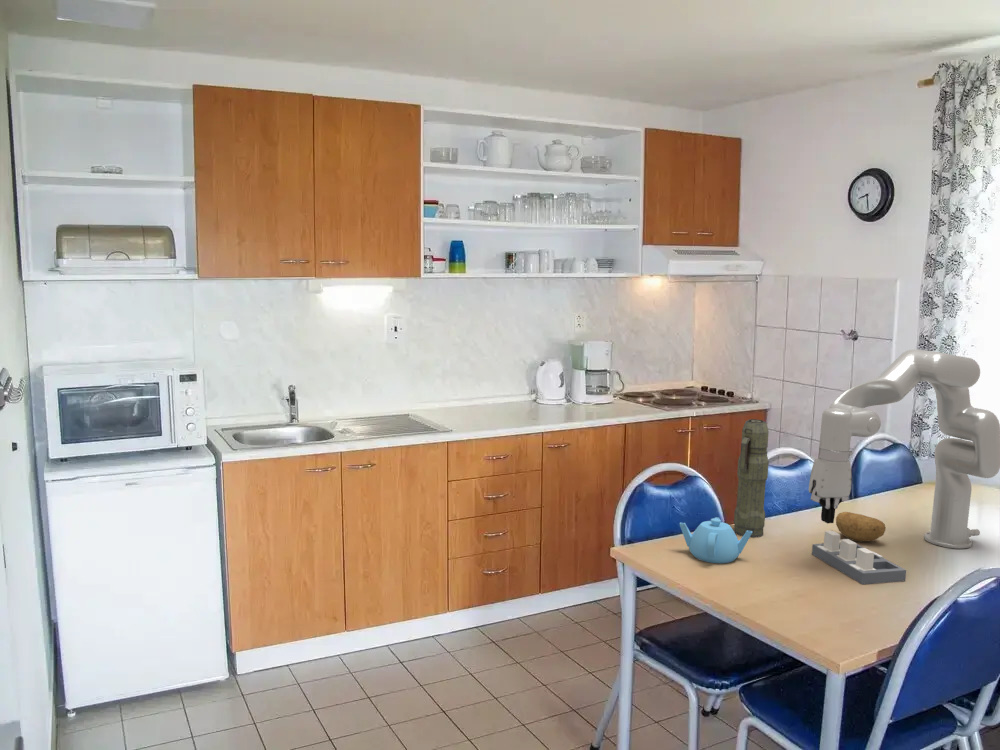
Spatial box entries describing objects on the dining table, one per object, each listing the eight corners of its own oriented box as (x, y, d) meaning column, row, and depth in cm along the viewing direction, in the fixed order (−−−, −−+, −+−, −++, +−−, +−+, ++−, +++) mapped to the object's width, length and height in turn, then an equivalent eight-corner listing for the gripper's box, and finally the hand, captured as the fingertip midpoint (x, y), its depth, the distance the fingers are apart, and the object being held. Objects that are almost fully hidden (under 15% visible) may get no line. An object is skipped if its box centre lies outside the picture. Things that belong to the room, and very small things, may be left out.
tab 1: (832, 551, 232) (833, 530, 231) (841, 557, 228) (843, 535, 227) (819, 552, 231) (821, 530, 230) (829, 558, 227) (831, 536, 226)
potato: (880, 550, 237) (882, 523, 236) (830, 539, 246) (832, 513, 244) (888, 541, 245) (890, 515, 244) (839, 531, 253) (841, 506, 252)
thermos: (726, 533, 248) (733, 421, 243) (743, 524, 257) (750, 416, 252) (753, 540, 243) (761, 425, 238) (770, 531, 251) (778, 420, 246)
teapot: (674, 550, 233) (676, 514, 232) (715, 543, 240) (718, 508, 238) (709, 569, 220) (711, 531, 218) (752, 561, 226) (755, 524, 225)
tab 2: (848, 560, 225) (849, 538, 224) (858, 566, 221) (860, 543, 220) (835, 561, 224) (837, 539, 223) (845, 567, 220) (847, 544, 219)
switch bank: (851, 551, 236) (852, 540, 235) (905, 580, 214) (906, 568, 214) (811, 554, 233) (812, 543, 232) (862, 584, 211) (863, 572, 211)
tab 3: (864, 570, 218) (866, 547, 217) (875, 576, 214) (877, 553, 213) (851, 571, 217) (853, 548, 217) (862, 577, 213) (864, 554, 212)
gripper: (849, 451, 222) (842, 516, 224) (800, 452, 218) (794, 518, 221) (867, 458, 215) (860, 525, 217) (817, 459, 211) (810, 527, 214)
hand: (827, 521), depth 219 cm, fingers closed
